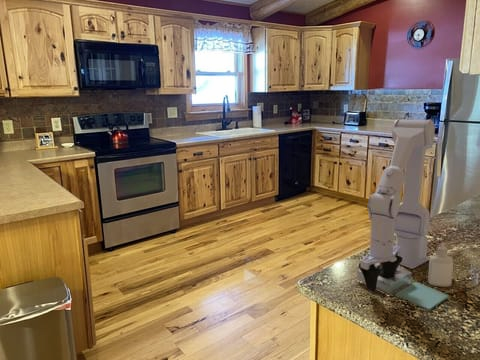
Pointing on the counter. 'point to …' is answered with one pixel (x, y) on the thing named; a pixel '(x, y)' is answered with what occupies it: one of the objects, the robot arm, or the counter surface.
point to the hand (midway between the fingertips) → (379, 285)
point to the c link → (390, 280)
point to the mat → (422, 295)
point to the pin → (381, 270)
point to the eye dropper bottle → (440, 268)
